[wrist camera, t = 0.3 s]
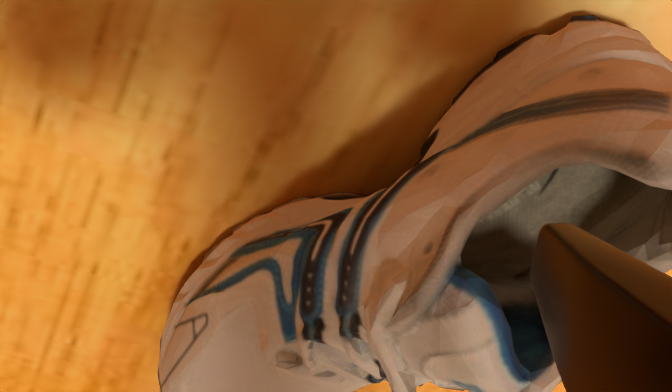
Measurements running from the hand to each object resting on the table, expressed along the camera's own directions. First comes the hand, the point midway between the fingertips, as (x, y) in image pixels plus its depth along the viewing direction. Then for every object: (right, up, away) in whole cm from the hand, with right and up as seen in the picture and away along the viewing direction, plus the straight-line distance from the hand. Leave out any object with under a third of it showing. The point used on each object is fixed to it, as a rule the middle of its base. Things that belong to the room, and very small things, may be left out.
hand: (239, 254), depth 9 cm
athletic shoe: (+4, 0, +17) cm, 18 cm away
